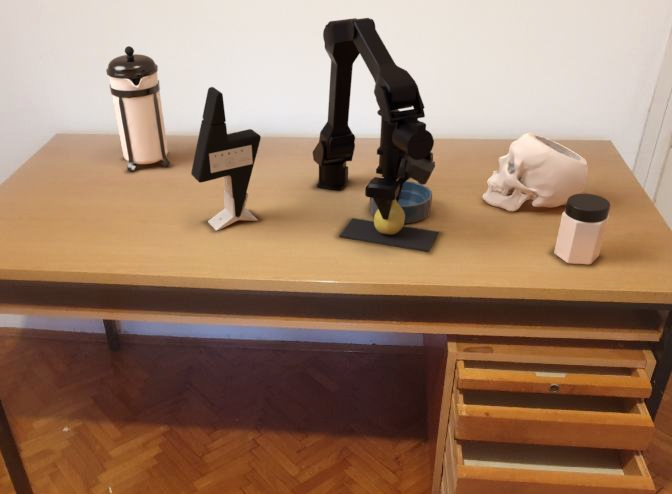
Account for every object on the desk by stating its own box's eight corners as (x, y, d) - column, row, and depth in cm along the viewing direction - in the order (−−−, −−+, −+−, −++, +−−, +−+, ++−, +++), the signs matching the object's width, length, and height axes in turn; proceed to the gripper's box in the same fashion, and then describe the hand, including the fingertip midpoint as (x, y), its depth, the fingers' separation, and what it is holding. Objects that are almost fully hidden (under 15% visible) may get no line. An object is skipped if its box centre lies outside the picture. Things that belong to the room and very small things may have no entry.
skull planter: (473, 180, 172) (522, 113, 161) (541, 219, 175) (593, 156, 163) (474, 205, 161) (527, 135, 150) (546, 245, 164) (603, 180, 153)
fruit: (403, 226, 157) (407, 175, 150) (404, 242, 151) (408, 190, 144) (373, 225, 158) (376, 175, 150) (373, 241, 152) (375, 189, 144)
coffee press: (188, 156, 194) (174, 42, 176) (148, 177, 183) (129, 57, 165) (141, 145, 202) (123, 34, 184) (101, 164, 191) (78, 48, 173)
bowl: (361, 219, 161) (362, 201, 158) (379, 194, 172) (380, 177, 169) (421, 228, 157) (423, 210, 154) (436, 202, 167) (438, 185, 164)
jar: (565, 241, 151) (577, 189, 143) (603, 252, 146) (617, 199, 139) (548, 257, 145) (559, 204, 138) (586, 269, 141) (600, 215, 134)
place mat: (339, 237, 154) (339, 235, 154) (352, 219, 161) (352, 218, 161) (428, 252, 148) (428, 250, 148) (438, 233, 155) (438, 231, 155)
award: (205, 233, 157) (189, 98, 139) (196, 224, 161) (180, 91, 143) (266, 218, 163) (258, 86, 145) (256, 209, 166) (248, 79, 149)
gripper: (421, 164, 133) (415, 238, 142) (443, 131, 146) (436, 200, 156) (365, 157, 136) (363, 229, 146) (392, 125, 150) (388, 193, 159)
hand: (390, 212), depth 151 cm, fingers closed on fruit, 6 cm apart
